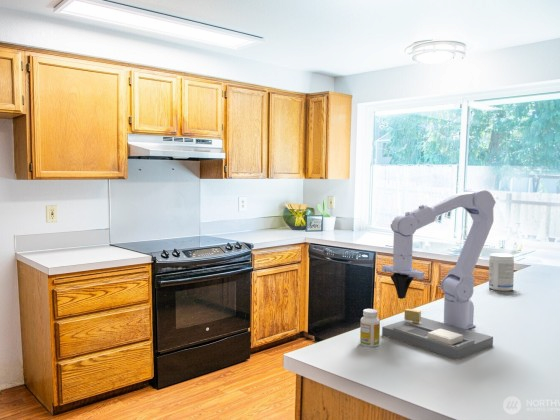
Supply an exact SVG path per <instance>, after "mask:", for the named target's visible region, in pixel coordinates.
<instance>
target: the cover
mask: <svg viewBox="0 0 560 420" xmlns="http://www.w3.org/2000/svg"><path fill="white" fill-rule="evenodd" d="M428 338H430V339H433V340H436V341H440V342H443V343H446V344H449V345H452V344H455V343H458V342H460V341H463V335H461V334H458V333H454V332H451V331H447V330H444V329H437V330H434V331H431V332H428Z"/></svg>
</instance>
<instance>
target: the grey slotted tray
mask: <svg viewBox="0 0 560 420" xmlns="http://www.w3.org/2000/svg"><path fill="white" fill-rule="evenodd" d="M381 328H382V329H381V335H382V336H384V337H388V338H391V339H394V340H395V341H396V340H397V341H400V342H403V343H405V344H408V345H411V346H414V347H417V348H421V349H424V350H426V351H429V352H432V353H435V354H439V355H441V356H444V357H447V358H449V359H450V358H451V359H452V360H453V359H454V360H456V361H459V360H461V359H463V358H465V357H469V356H470V355H473V354H475V353H477V352H480V351H482V350H485V349H488V348H490V347H492V346H493V345H494V336H492V335H489V334H485V333H480V332H477V331H474V330H470V329H463V328H459V327H456V326H452V325H449V324H445V323H442V322H441V321H436V320H434V319H430V318H427V317H423V316H421V320H420V321H419V324H414V323H412V321H410V320H401V321H397V322H395V323H391V324H387V325H383V326H382V327H381ZM437 329H444V330H447V331H451V332H454V333H458V334H461V335H463V341H460V342H458V343H455V344H452V345H449V344H446V343H443V342H440V341H436V340H433V339H430V338H428V332H431V331H434V330H437Z"/></svg>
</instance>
